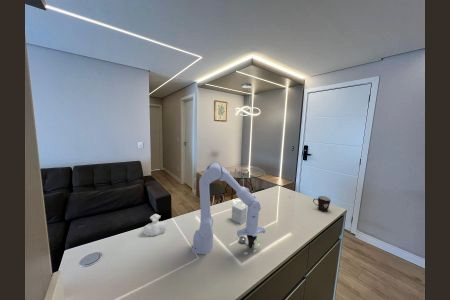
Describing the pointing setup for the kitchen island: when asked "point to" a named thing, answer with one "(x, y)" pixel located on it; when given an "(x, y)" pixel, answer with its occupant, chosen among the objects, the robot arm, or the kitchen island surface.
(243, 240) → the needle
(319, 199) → the coffee mug
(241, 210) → the small box
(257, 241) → the dial
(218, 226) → the kitchen island surface
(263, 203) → the kitchen island surface
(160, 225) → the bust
